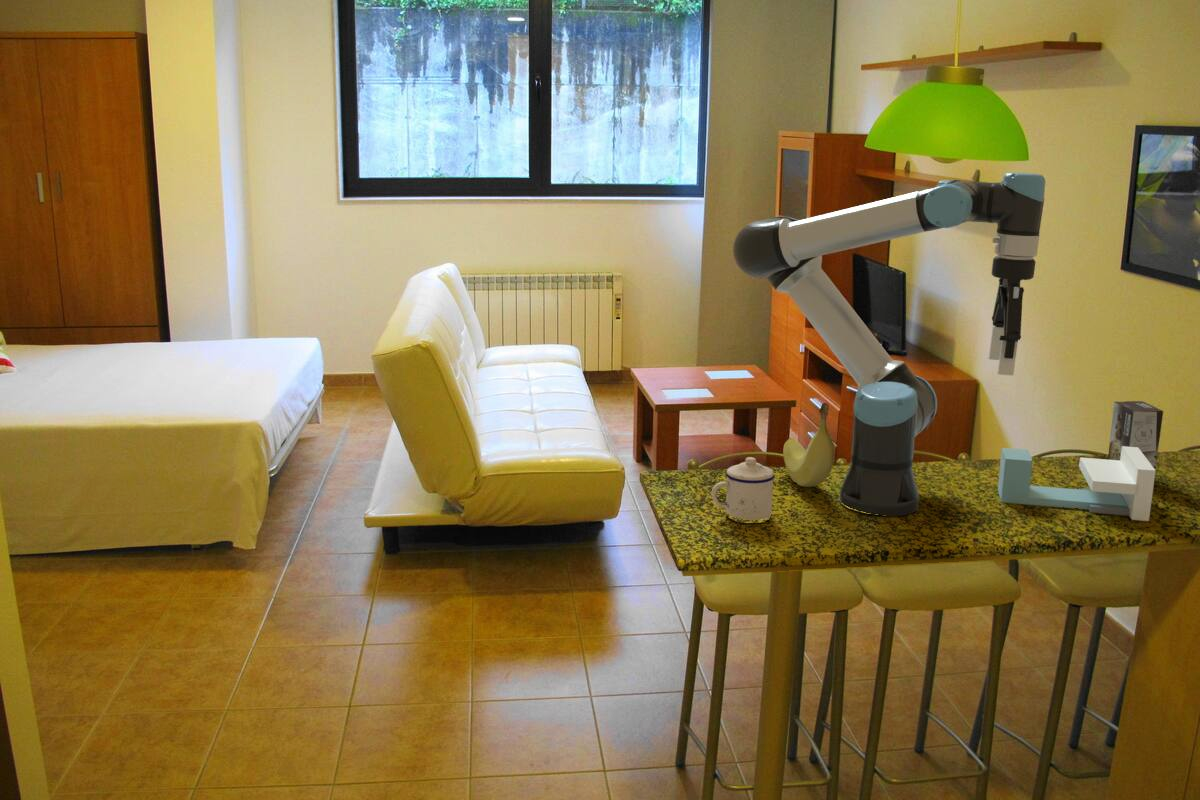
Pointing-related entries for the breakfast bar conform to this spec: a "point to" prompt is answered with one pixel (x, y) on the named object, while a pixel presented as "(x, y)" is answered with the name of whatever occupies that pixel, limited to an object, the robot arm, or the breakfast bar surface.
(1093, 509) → the shelf
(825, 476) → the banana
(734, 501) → the teacup with lid
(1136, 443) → the coffee box
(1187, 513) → the breakfast bar surface
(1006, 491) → the light blue l-bracket
